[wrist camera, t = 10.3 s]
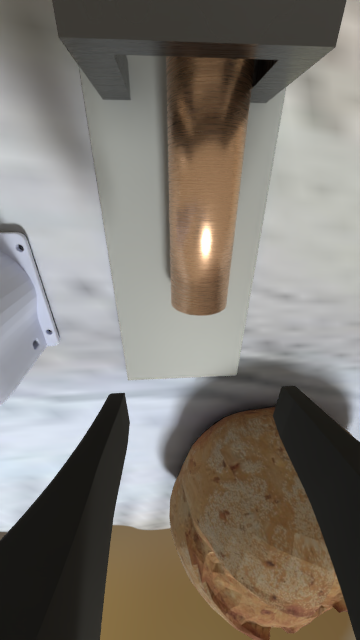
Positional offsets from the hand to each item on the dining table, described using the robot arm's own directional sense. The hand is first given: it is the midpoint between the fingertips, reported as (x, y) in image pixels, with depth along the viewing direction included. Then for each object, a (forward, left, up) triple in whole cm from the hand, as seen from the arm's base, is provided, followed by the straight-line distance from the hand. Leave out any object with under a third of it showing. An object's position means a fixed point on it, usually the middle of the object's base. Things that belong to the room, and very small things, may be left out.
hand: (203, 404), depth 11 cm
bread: (-25, -10, -11) cm, 29 cm away
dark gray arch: (+14, 0, -10) cm, 17 cm away
